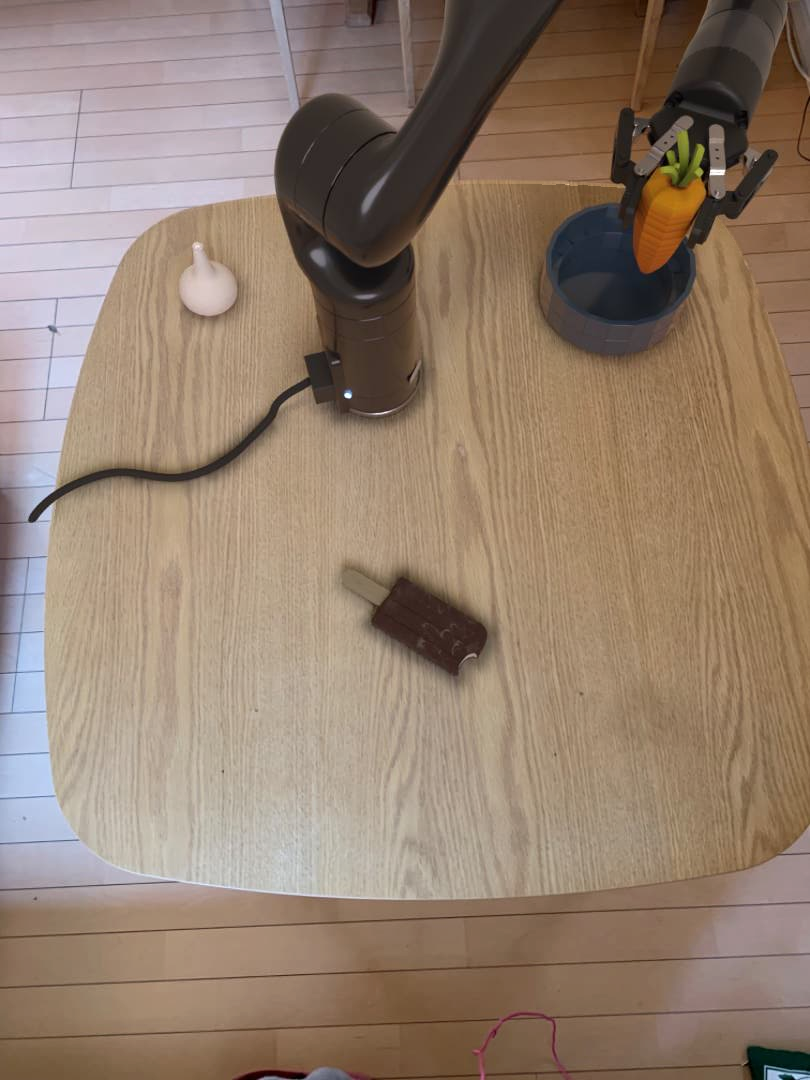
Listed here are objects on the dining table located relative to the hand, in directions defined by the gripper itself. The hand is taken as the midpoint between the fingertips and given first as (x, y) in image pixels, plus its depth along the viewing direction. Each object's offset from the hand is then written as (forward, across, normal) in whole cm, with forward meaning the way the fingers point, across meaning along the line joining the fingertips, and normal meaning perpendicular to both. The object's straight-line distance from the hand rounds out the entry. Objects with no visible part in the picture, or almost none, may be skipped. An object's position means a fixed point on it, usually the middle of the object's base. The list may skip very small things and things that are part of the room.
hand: (659, 230), depth 69 cm
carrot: (-3, 0, +9) cm, 9 cm away
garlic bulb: (+7, -43, +22) cm, 49 cm away
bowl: (-9, -3, +22) cm, 24 cm away
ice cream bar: (+33, -9, +22) cm, 40 cm away
